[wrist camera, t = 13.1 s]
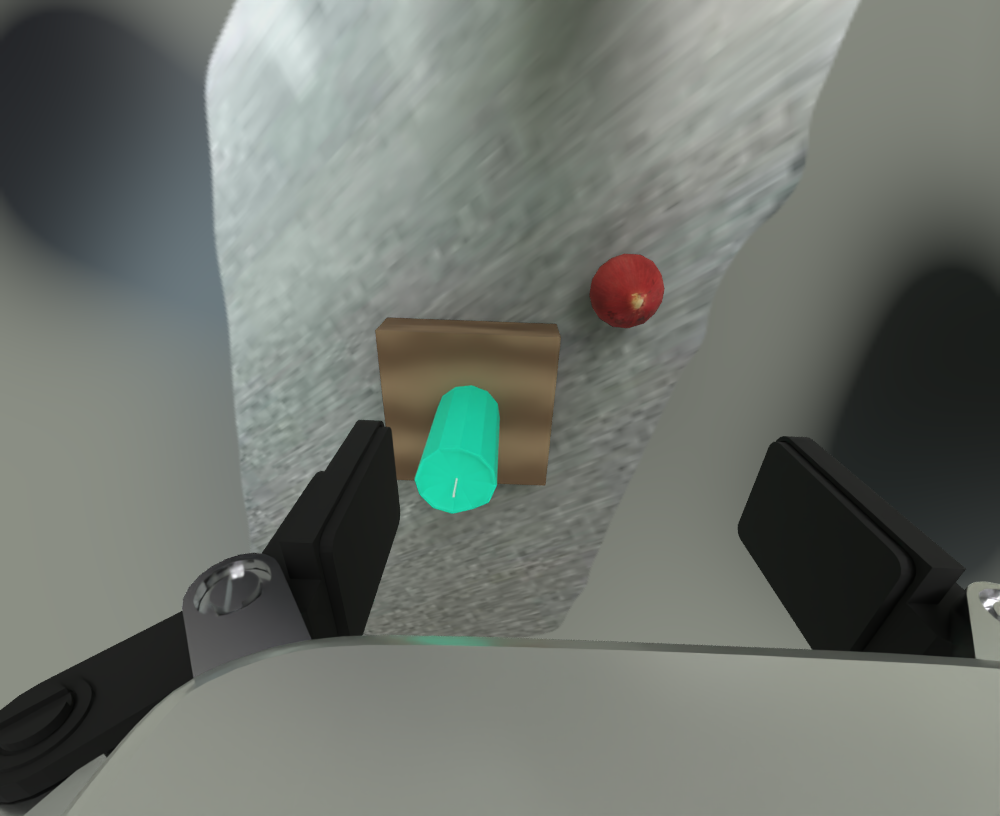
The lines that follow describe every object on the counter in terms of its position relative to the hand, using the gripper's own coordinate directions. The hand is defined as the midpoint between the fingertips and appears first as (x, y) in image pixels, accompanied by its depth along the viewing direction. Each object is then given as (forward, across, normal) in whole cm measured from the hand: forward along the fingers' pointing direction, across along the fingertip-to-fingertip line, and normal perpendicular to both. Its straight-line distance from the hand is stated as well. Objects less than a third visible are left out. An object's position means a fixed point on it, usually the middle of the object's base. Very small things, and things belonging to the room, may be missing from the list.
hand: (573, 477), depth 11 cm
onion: (+31, -8, +1) cm, 32 cm away
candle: (+26, +5, +13) cm, 30 cm away
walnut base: (+30, +5, +13) cm, 33 cm away
